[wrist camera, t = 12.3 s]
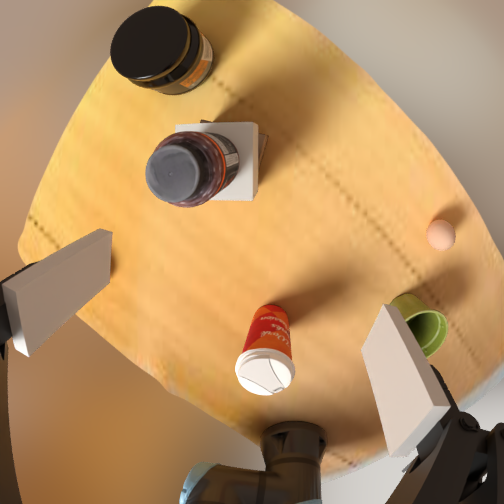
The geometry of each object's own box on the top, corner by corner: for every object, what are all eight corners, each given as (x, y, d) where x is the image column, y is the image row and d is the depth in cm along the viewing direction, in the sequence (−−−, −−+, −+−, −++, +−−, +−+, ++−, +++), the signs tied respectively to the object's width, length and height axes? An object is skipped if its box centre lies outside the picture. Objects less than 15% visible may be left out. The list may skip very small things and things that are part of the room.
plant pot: (394, 276, 45) (412, 302, 36) (437, 292, 45) (458, 319, 37) (368, 324, 48) (379, 356, 40) (410, 337, 48) (426, 367, 40)
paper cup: (303, 322, 49) (307, 382, 36) (267, 345, 51) (260, 405, 38) (274, 289, 47) (268, 344, 34) (237, 314, 50) (220, 371, 37)
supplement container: (231, 52, 36) (211, 23, 25) (185, 110, 39) (150, 100, 28) (176, 21, 35) (143, -10, 23) (134, 75, 38) (90, 61, 27)
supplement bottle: (206, 201, 32) (164, 234, 21) (173, 156, 30) (116, 168, 20) (253, 168, 30) (231, 184, 19) (218, 121, 28) (177, 112, 18)
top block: (257, 191, 37) (252, 200, 31) (193, 190, 37) (177, 199, 32) (258, 125, 34) (253, 121, 28) (192, 127, 35) (175, 124, 29)
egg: (447, 236, 41) (464, 248, 36) (425, 248, 42) (440, 261, 37) (440, 211, 40) (458, 220, 35) (417, 223, 41) (433, 234, 36)
